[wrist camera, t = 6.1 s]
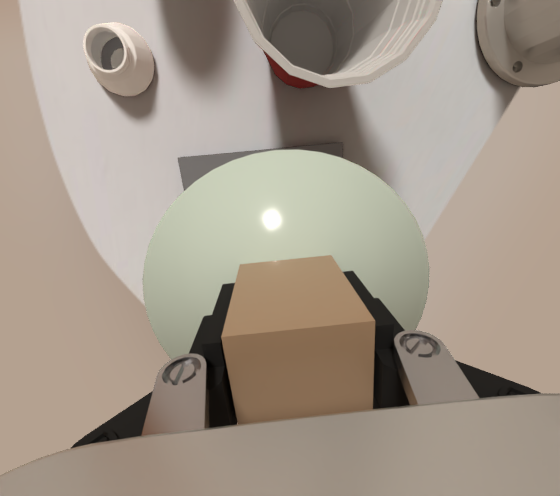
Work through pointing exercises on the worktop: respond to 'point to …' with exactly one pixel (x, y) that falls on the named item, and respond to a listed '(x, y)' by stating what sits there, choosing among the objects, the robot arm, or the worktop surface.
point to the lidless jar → (120, 59)
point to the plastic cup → (336, 37)
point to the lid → (287, 277)
